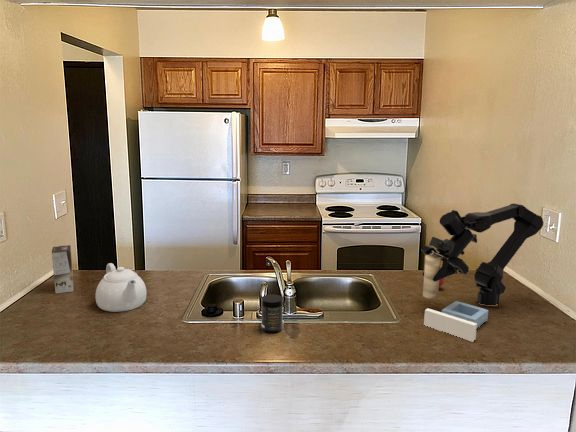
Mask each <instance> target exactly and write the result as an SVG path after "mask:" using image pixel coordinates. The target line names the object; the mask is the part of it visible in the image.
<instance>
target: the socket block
mask: <svg viewBox="0 0 576 432" xmlns="http://www.w3.org/2000/svg"><path fill="white" fill-rule="evenodd" d="M441 312H442V313H445V314H448V315H451V316H455V317H458V318H461V319H464V320H467V321H471V322H474V323H477V328H478V327H479V328H481V327H482V326H483V325H484V324H483V323H484V322H486V321H487V322H488V318H489V309H487V308H482V307H479V306H476V305H472V304H468V303H465V302H462V301H458V300H455V301H454V302H452V303H450V304H449V305H447V306H445V307H444V308H442V309H441ZM487 322H486V323H487ZM482 324H483V325H482ZM481 325H482V326H481ZM480 326H481V327H480ZM479 328H478V329H479Z"/></svg>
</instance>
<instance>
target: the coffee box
mask: <svg viewBox="0 0 576 432" xmlns="http://www.w3.org/2000/svg"><path fill="white" fill-rule="evenodd" d="M51 257H52V268H53V270H52V271H53V281H54V290H55V293H54V294H61V293H62V294H63V293H70V292H71V293H72V292H74V274H73V273H74V271H73V262H72V250H71V245H70V244H69V245H68V244H67V245H58V246H52V249H51Z"/></svg>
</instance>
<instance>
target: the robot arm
mask: <svg viewBox="0 0 576 432" xmlns="http://www.w3.org/2000/svg"><path fill="white" fill-rule="evenodd" d="M510 219H513V220H514V224H513V231H512V233H511V234H510V235H509V236H508V238H507V239H506V240H505V242H504V243H503V244H502V246H501V247H500V248H499V249H498V251H497V252H496V254H495V255H494V256H493V258H492V259H491V260H490V261H488V262H485V261H482V262H481V263H480V264H479V266H478V267H477V268H476V269H475V273H474V275H473V276H474V282H475V285H476V287H478V288H479V290H478V291H479V292H478V293H477V299H476V303H477V302H478V303H480V304H485V305H496V304H500V298H501V296H500V295H501V294H504V293H505V290H506V286H505V284H504V283H503V282H502V280H503V278H504V269H505V268H506V267H507V265H508V264H509V263H510V261H511V260H512V259H513V257H514V256H515V255H516V253H517V252H518V250H519V249H520V248H521V246H522V245H523V244H524V242H525V241H526V240H527V239H529V238H531V237H533V236H535V235H536V234H538V232H539V231H540V230H541V229H542V228H543V227H544V219H543V217H542V216H541V215H538V214H536V213H534V212H533V211H531V210H530V209H528V208H527V207H526V206H525V205H523V204H519V203H515V202H514V203H510V204H509V205H506V206H502V207H499V208H495V209H493V210H489V211H487V212H486V211H485V212H478V211H477V212H468V213H467V214H465V215H464V216H461V214H460V213H459V211H458V210H454V209H453V210H451V211H450V212H447V213H445V214H443V215H442V216H441V217H440V218H439V224H440V225H441V227H442V228H443V230H445V231H446V233H448V235H449V236H451V237H450V239H447V238H445V239H440V238H438V237H434V236H432V237H431V239H430V241H429V243H428V245H423V247H422V248H421V252H422V253H423V254H424V255H425V256H426V255H438V256H440V257H441V266H440V270H439V271H438V272H437V274H436V275H435V276H434V278H433V281H434V282H435V281H438V280H440V279H442V278H444V279H445V278H447V277H450V276H452V275H454V274H455V275H457V274H458V273H459V274H461V275H464V276H466V275H467V274H468V273H469V271H470V269H469V268H470V267H469V266H468V265H467V264H466V262H465V261H464V260H463V259H462V258H460V257H459V256H460V255H462V256H464V255H465V252H464V250H465V249H466V248H467V246H469V244H470V243H471V242H473V243H476V244H477V243H478V237H477V234H475V233H474V232H477V233H483V232H485V231H487V230H489V229H490V228H491V227H492V226H493V225H495V224H498V223H500V222H504V221H508V220H510ZM424 270H425V268H424V269H423V272H422V276H423V277H424ZM478 303H477V304H478Z"/></svg>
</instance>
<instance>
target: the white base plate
mask: <svg viewBox="0 0 576 432" xmlns="http://www.w3.org/2000/svg"><path fill="white" fill-rule="evenodd" d="M424 325H425V326H424ZM423 326H424V327H427V326H428V327H427V328H430V327H431V329H433V328H434V329H433V330H437V331H439V332H442V331H443V332H442V333H444V332H446V333H445V334H447V333H449V334H448V335H450V334H451V336H453V335H454V337H456V336H457V338H459V337H460V338H459V339H462V338H463V340H466V341H469V342H470V343H473V342H474V340H475V341H476V338H477V330H478V329H477V323H474V322H471V321H467V320H464V319H461V318H458V317H455V316H451V315H448V314H445V313H442V311H437V310H434V309H431V308H428V307H427V308H426V309H425V310H424V318H423ZM476 329H477V330H476Z"/></svg>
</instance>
